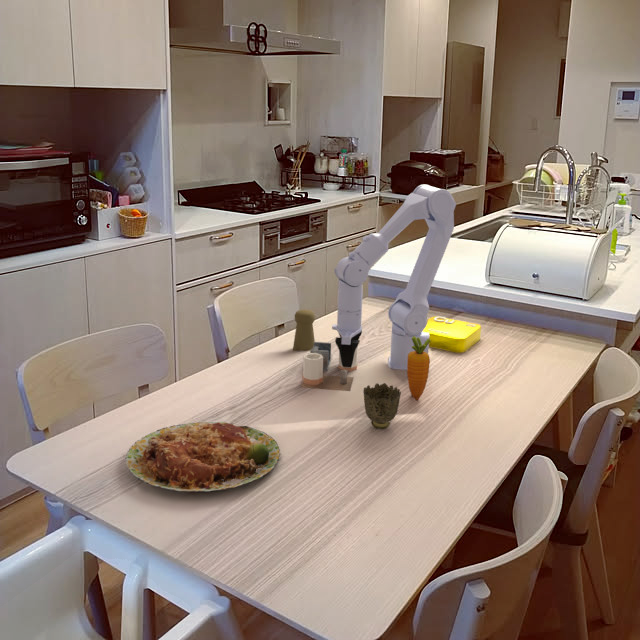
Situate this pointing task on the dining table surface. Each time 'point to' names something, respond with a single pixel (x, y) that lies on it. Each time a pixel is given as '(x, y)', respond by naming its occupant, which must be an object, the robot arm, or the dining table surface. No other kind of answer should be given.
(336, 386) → the pin board
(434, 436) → the dining table surface
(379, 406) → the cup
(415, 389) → the carrot
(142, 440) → the rice dish
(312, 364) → the sleeve
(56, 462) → the dining table surface
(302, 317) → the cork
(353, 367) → the sleeve
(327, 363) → the grey metal bracket
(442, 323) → the element tile
